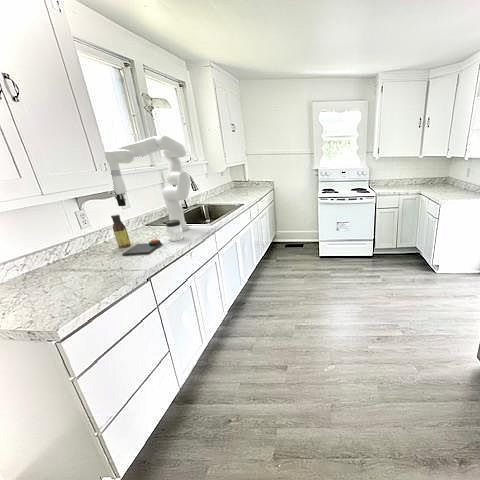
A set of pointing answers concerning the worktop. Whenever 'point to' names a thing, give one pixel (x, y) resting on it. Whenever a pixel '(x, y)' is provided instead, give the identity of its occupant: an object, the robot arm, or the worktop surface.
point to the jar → (174, 230)
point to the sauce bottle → (120, 232)
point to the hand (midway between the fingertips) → (122, 205)
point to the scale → (142, 248)
